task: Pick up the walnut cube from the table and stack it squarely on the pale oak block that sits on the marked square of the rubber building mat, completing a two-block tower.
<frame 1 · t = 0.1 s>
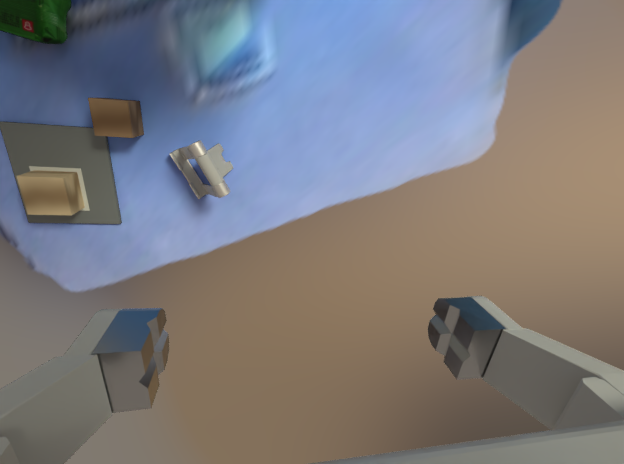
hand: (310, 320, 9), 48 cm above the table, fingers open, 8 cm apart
snack package: (12, 5, 40), on the table
portable electronic device stand: (206, 165, 53), on the table
building mat: (66, 176, 49), on the table
walnut cube: (124, 116, 48), on the table
oak base block: (60, 189, 49), point 1 cm above the table, touching building mat
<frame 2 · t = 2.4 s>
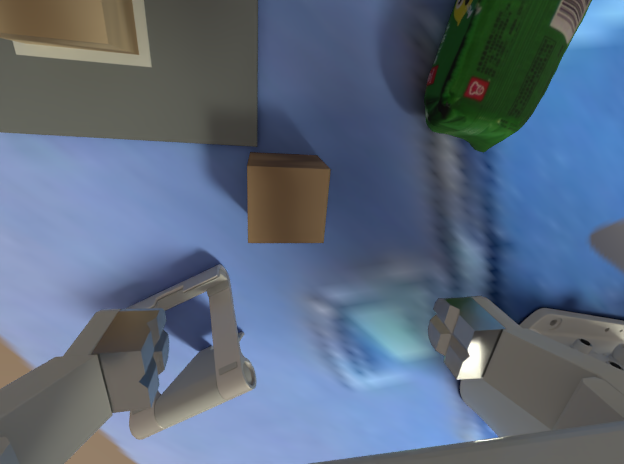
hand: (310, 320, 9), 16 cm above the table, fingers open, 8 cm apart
snack package: (480, 28, 21), on the table
portable electronic device stand: (200, 312, 27), on the table
building mat: (120, 15, 18), on the table
walnut cube: (283, 186, 24), on the table
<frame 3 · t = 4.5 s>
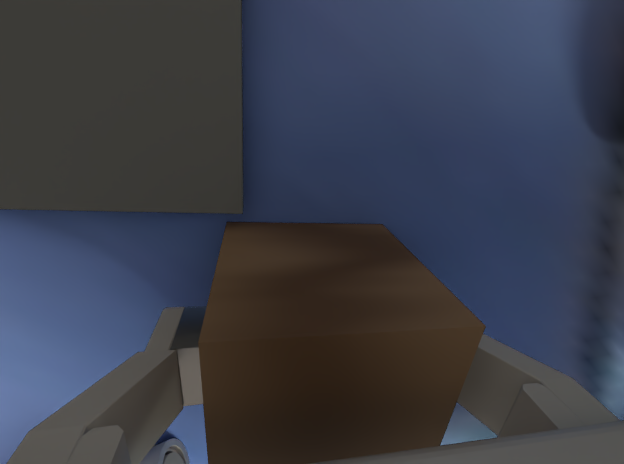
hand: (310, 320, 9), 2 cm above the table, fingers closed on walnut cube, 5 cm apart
walnut cube: (302, 289, 11), on the table, touching gripper
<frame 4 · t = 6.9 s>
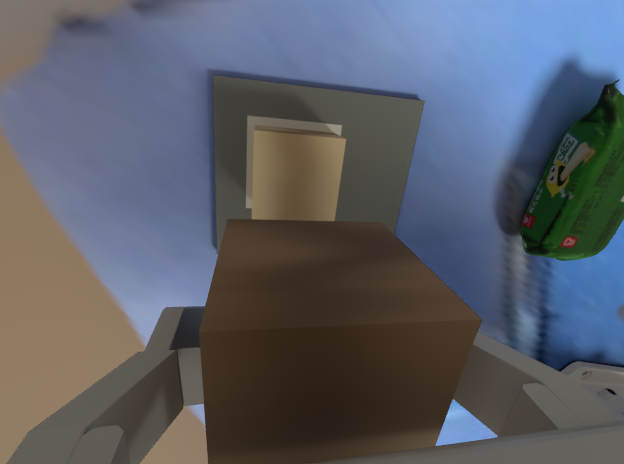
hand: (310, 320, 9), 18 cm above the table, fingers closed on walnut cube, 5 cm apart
snack package: (559, 177, 29), on the table
building mat: (314, 179, 26), on the table
walnut cube: (302, 286, 11), point 16 cm above the table, touching gripper
oak base block: (292, 167, 24), point 1 cm above the table, touching building mat
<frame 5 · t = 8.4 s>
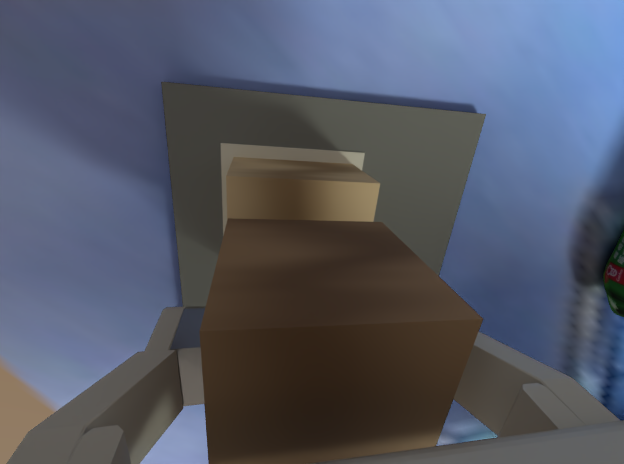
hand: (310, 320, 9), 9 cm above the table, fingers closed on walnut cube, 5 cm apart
building mat: (322, 228, 18), on the table
walnut cube: (302, 286, 11), point 7 cm above the table, touching gripper
oak base block: (291, 216, 16), point 1 cm above the table, touching building mat
when the fingers open (7 cm above the table, at t = 9.5 s): walnut cube drops 1 cm, resting on oak base block.
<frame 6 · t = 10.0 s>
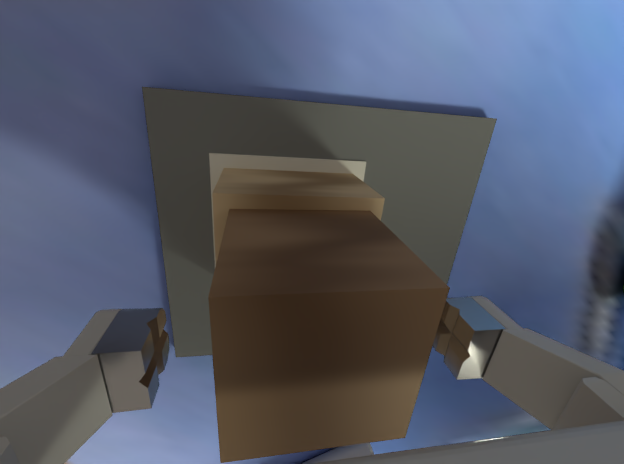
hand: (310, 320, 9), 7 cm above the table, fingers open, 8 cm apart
building mat: (321, 242, 17), on the table
walnut cube: (298, 271, 12), point 5 cm above the table, touching oak base block
oak base block: (287, 230, 15), point 1 cm above the table, touching building mat, walnut cube
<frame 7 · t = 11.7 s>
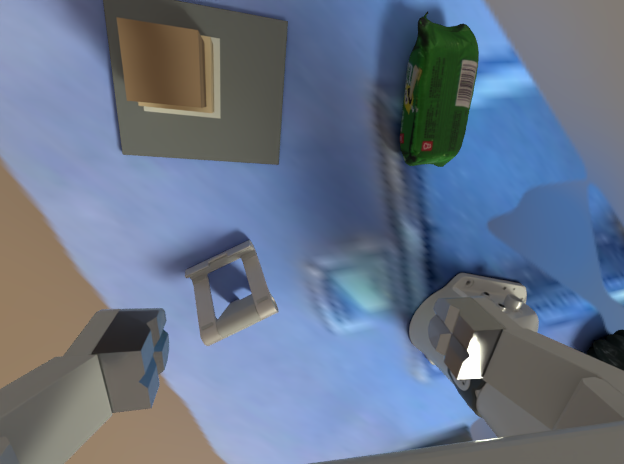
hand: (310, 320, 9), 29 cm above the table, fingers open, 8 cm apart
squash: (601, 345, 68), on the table
snack package: (421, 100, 37), on the table
portable electronic device stand: (232, 274, 40), on the table
building mat: (204, 89, 31), on the table
walnut cube: (174, 71, 26), point 5 cm above the table, touching oak base block
oak base block: (181, 75, 29), point 1 cm above the table, touching building mat, walnut cube
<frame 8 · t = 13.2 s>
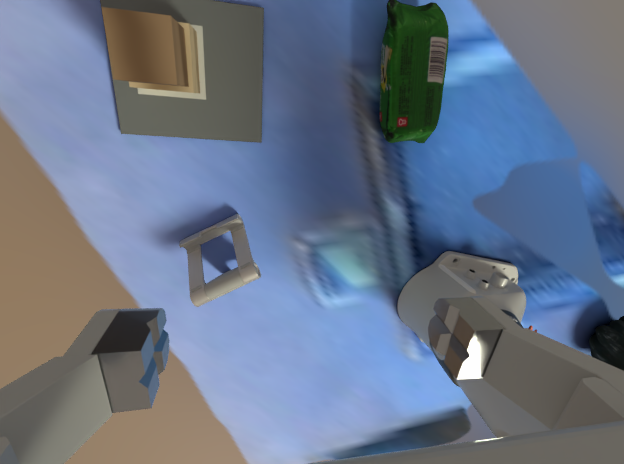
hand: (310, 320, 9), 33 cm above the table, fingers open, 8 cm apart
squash: (606, 332, 67), on the table
snack package: (400, 79, 39), on the table
portable electronic device stand: (224, 246, 44), on the table
building mat: (190, 73, 34), on the table
walnut cube: (159, 56, 29), point 5 cm above the table, touching oak base block
oak base block: (169, 60, 33), point 1 cm above the table, touching building mat, walnut cube
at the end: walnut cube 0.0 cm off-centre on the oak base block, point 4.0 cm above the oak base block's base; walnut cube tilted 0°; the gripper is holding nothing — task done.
